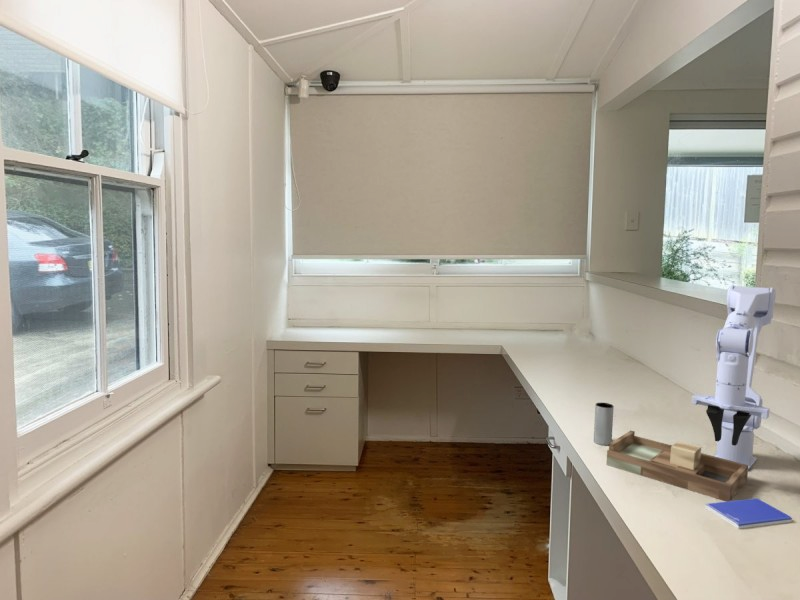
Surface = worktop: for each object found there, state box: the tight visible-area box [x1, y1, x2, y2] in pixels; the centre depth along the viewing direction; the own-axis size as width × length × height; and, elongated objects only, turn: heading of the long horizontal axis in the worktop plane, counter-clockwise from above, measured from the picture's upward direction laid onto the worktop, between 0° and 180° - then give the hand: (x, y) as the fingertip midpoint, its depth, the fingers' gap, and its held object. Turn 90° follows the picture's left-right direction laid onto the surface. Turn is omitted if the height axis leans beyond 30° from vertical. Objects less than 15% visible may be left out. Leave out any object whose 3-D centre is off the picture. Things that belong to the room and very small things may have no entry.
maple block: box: [670, 441, 702, 470], centre depth 126 cm, size 5×5×4 cm
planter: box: [593, 402, 615, 446], centre depth 143 cm, size 4×4×10 cm
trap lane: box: [605, 430, 749, 502], centre depth 125 cm, size 15×26×5 cm, turn 45°
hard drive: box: [704, 497, 793, 530], centre depth 106 cm, size 2×8×12 cm
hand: (726, 442), depth 119 cm, fingers open, 3 cm apart
